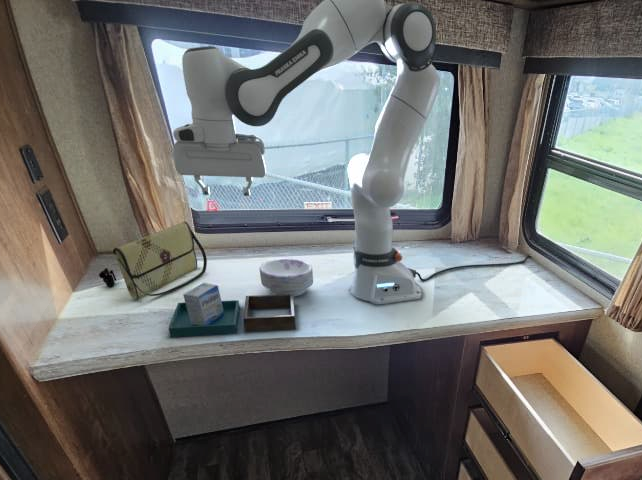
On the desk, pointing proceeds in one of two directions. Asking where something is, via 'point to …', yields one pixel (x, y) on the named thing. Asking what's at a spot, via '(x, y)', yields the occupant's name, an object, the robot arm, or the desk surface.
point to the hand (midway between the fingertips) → (227, 195)
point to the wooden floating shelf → (269, 321)
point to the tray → (222, 325)
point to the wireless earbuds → (108, 277)
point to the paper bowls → (286, 276)
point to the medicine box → (204, 304)
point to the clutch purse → (158, 260)
